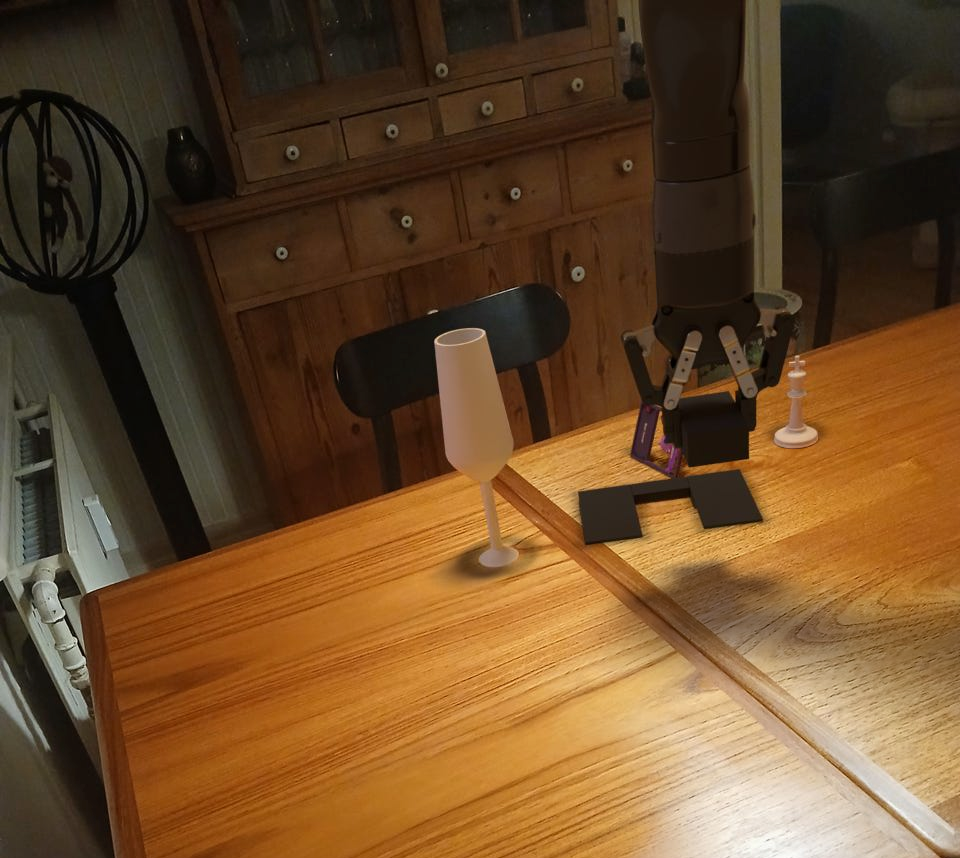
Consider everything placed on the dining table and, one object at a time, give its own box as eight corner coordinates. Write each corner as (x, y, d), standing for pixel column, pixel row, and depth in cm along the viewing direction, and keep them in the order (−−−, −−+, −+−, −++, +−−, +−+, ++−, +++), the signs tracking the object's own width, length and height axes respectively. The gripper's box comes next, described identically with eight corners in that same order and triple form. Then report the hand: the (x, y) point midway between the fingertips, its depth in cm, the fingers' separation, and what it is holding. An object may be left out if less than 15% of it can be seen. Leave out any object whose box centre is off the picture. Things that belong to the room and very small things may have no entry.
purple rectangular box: (636, 400, 116) (683, 420, 109) (671, 401, 118) (719, 421, 111) (624, 455, 118) (669, 478, 112) (659, 456, 121) (705, 478, 114)
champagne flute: (472, 550, 106) (429, 330, 93) (534, 545, 105) (499, 320, 92) (464, 583, 101) (418, 353, 87) (529, 577, 99) (492, 344, 86)
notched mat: (740, 478, 110) (739, 468, 109) (763, 529, 100) (763, 518, 99) (579, 500, 112) (577, 491, 111) (586, 552, 102) (584, 542, 101)
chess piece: (820, 446, 113) (822, 361, 107) (775, 450, 114) (775, 366, 108) (815, 429, 117) (818, 346, 111) (772, 432, 118) (772, 351, 112)
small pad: (729, 422, 88) (729, 390, 86) (749, 459, 81) (749, 425, 80) (673, 430, 88) (671, 399, 87) (688, 468, 82) (687, 434, 80)
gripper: (785, 209, 78) (782, 412, 87) (605, 239, 79) (621, 435, 89) (812, 230, 72) (805, 446, 81) (615, 262, 73) (631, 471, 82)
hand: (709, 439), depth 85 cm, fingers closed on small pad, 5 cm apart
